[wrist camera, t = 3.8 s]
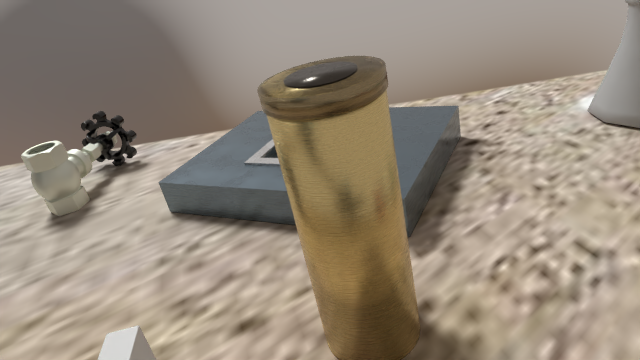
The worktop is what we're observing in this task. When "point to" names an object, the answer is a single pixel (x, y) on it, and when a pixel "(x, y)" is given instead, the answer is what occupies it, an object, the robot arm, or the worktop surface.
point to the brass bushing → (346, 201)
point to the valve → (75, 163)
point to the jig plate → (267, 180)
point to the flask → (622, 77)
